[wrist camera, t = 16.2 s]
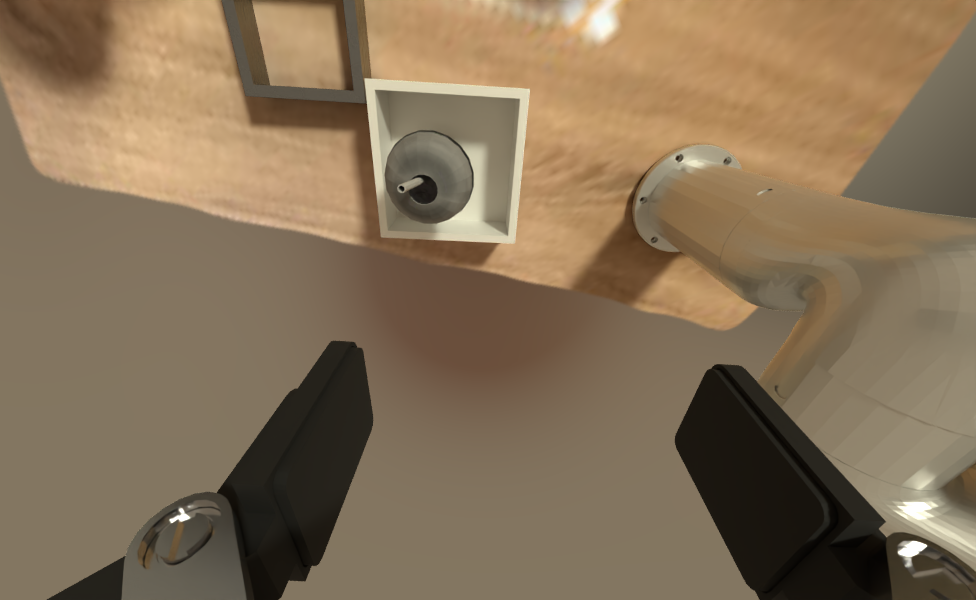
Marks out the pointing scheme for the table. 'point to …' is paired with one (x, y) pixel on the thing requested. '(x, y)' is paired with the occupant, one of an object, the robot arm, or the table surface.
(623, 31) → the table surface
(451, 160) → the beverage cup
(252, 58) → the holder
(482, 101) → the bin
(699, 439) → the robot arm
